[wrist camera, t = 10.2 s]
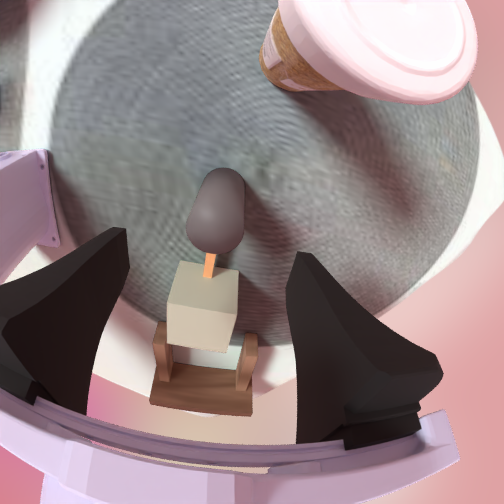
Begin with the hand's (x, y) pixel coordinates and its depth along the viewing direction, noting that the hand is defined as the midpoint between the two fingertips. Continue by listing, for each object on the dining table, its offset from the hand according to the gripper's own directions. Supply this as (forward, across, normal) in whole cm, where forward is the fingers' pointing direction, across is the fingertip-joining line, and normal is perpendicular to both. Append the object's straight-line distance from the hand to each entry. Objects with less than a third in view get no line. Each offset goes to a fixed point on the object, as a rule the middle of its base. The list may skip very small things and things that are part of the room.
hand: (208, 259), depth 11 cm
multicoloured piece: (+9, 0, +6) cm, 11 cm away
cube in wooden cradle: (+9, 0, +20) cm, 22 cm away
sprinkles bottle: (+9, -3, -10) cm, 14 cm away
